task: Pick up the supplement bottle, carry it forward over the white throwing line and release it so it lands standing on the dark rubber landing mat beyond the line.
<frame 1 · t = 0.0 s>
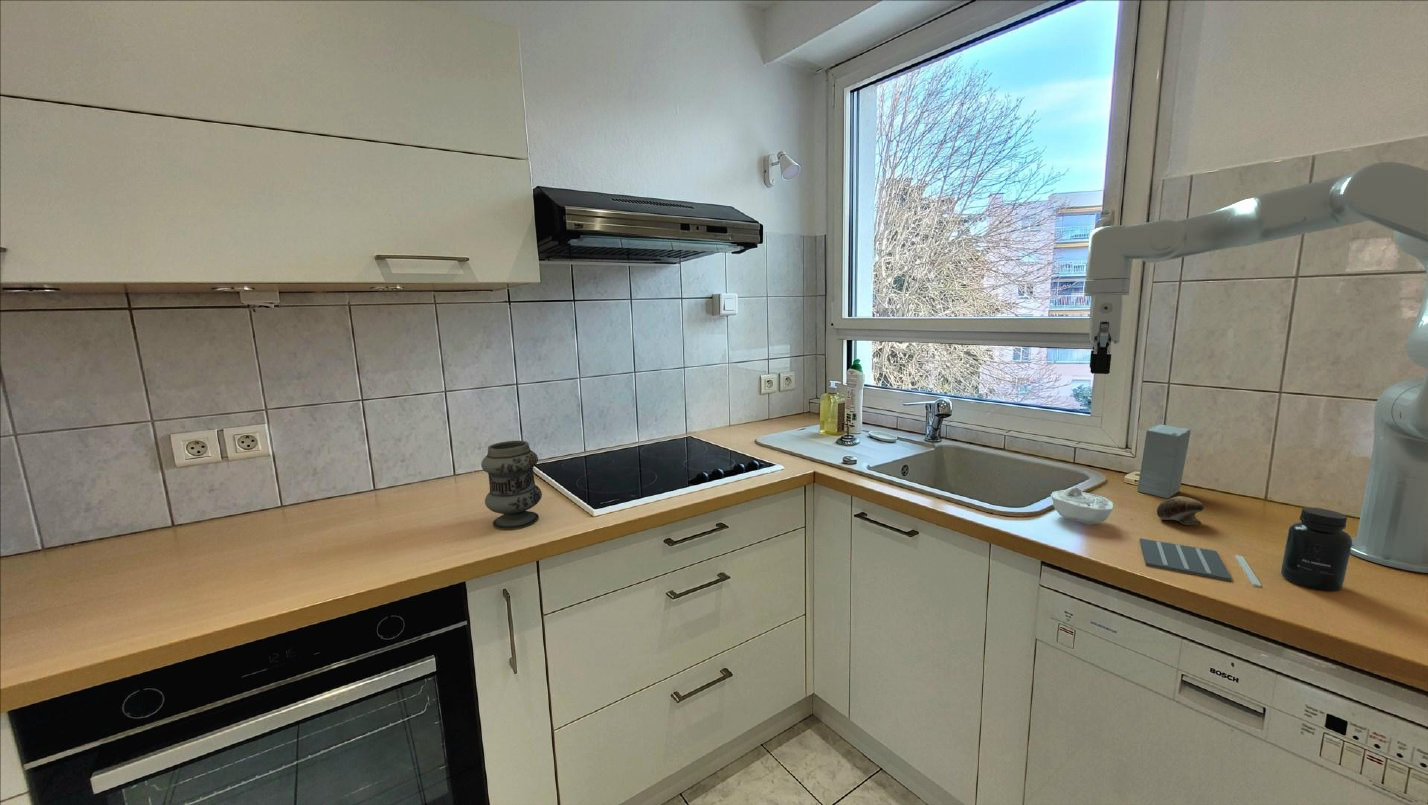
hand: (1099, 371, 114), 31 cm above the table, fingers open, 9 cm apart
supplement bottle: (1310, 583, 87), on the table
cell model: (1080, 522, 114), on the table
skincare box: (1159, 493, 130), on the table
throwing line: (1247, 571, 91), on the table
landing mat: (1181, 559, 96), on the table
mushroom: (1178, 523, 112), on the table
apothecary jar: (516, 522, 122), on the table
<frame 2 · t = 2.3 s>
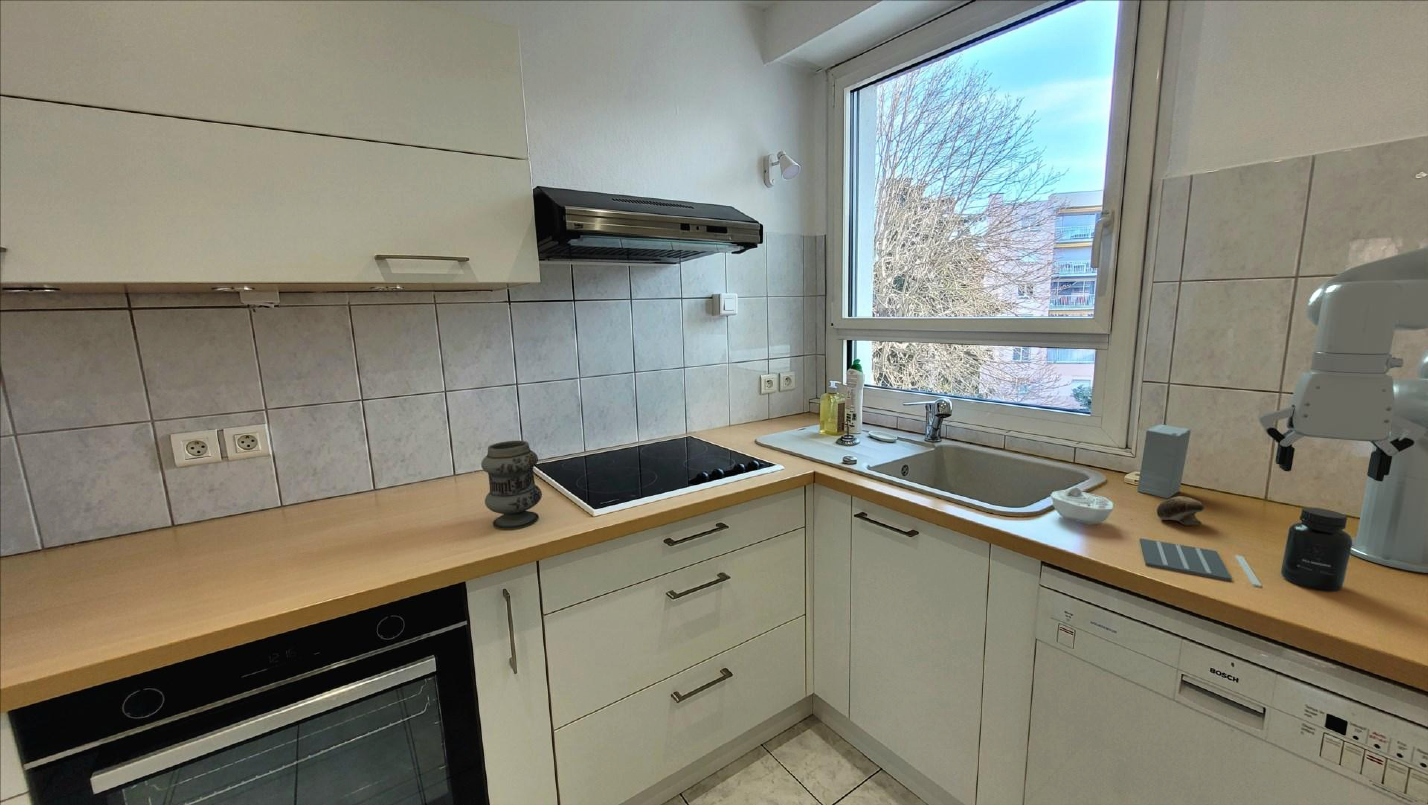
hand: (1328, 474, 84), 18 cm above the table, fingers open, 9 cm apart
nothing on the table moved.
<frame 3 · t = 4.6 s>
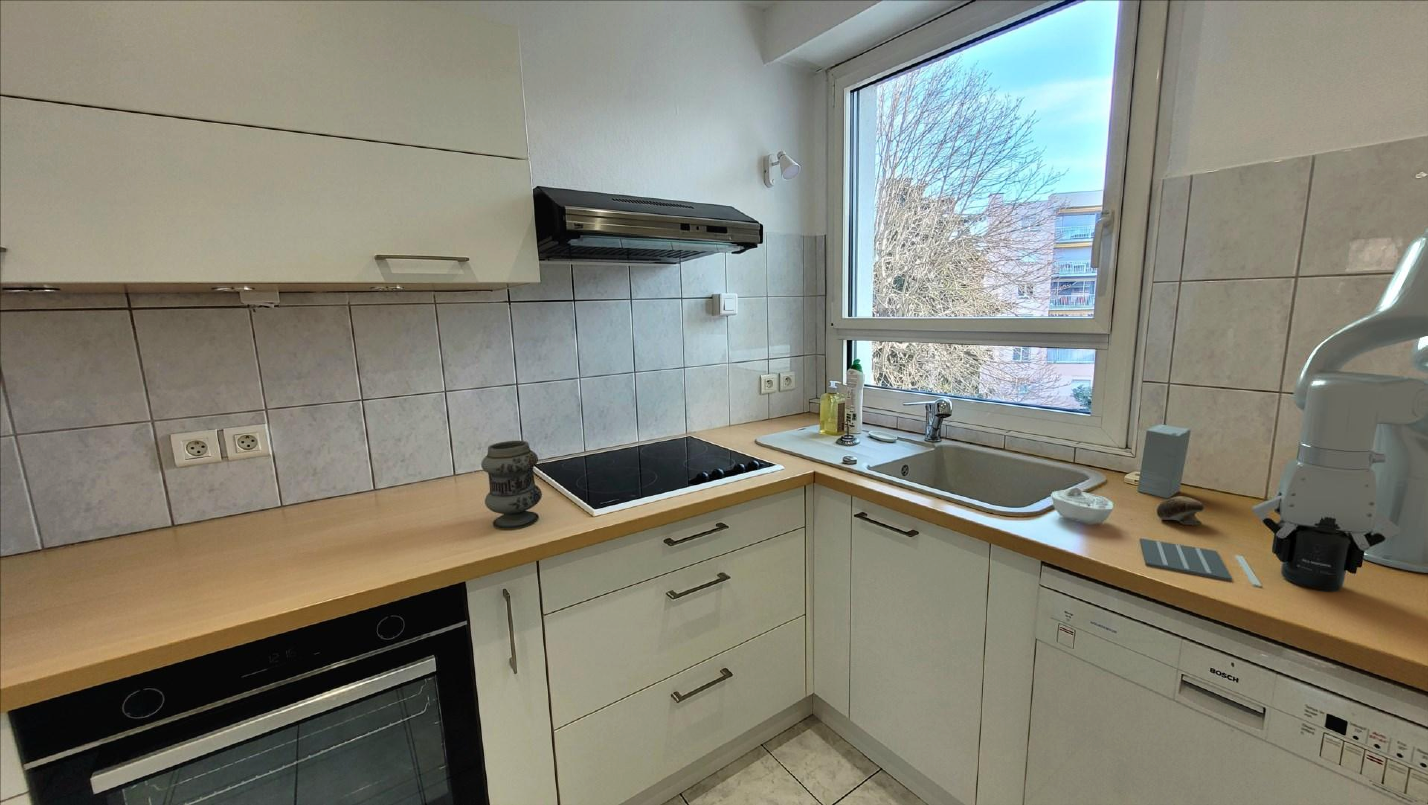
hand: (1314, 563, 87), 3 cm above the table, fingers closed on supplement bottle, 6 cm apart
supplement bottle: (1310, 583, 87), on the table, touching gripper
everything else where it was.
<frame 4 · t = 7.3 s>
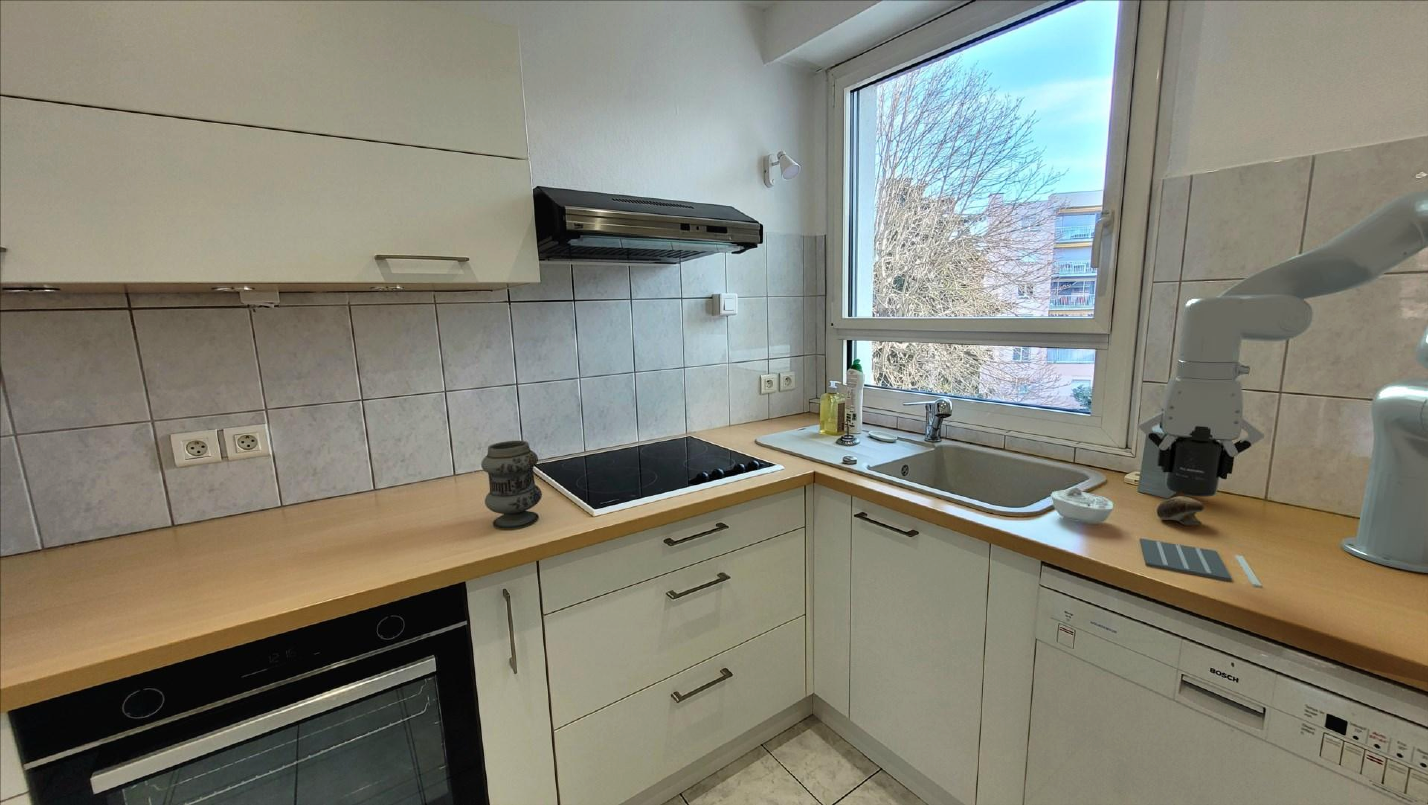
hand: (1192, 473, 93), 16 cm above the table, fingers closed on supplement bottle, 6 cm apart
supplement bottle: (1190, 492, 94), point 13 cm above the table, touching gripper
everything else where it was.
when the fingers open (5 cm above the table, at t = 10.0 s): supplement bottle drops 1 cm, resting on landing mat.
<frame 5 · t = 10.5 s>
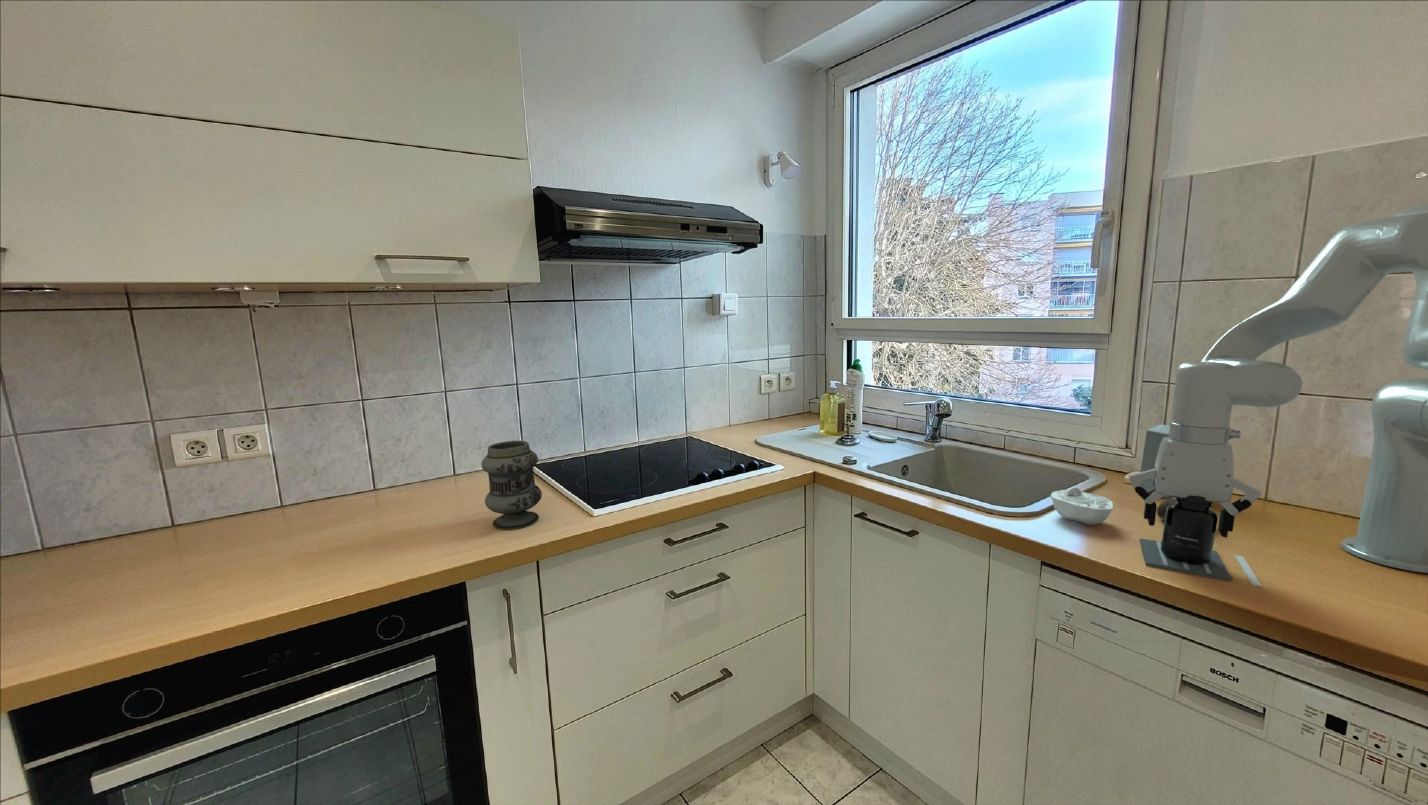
hand: (1185, 528, 95), 6 cm above the table, fingers open, 9 cm apart
supplement bottle: (1185, 557, 96), resting on landing mat
everything else where it was.
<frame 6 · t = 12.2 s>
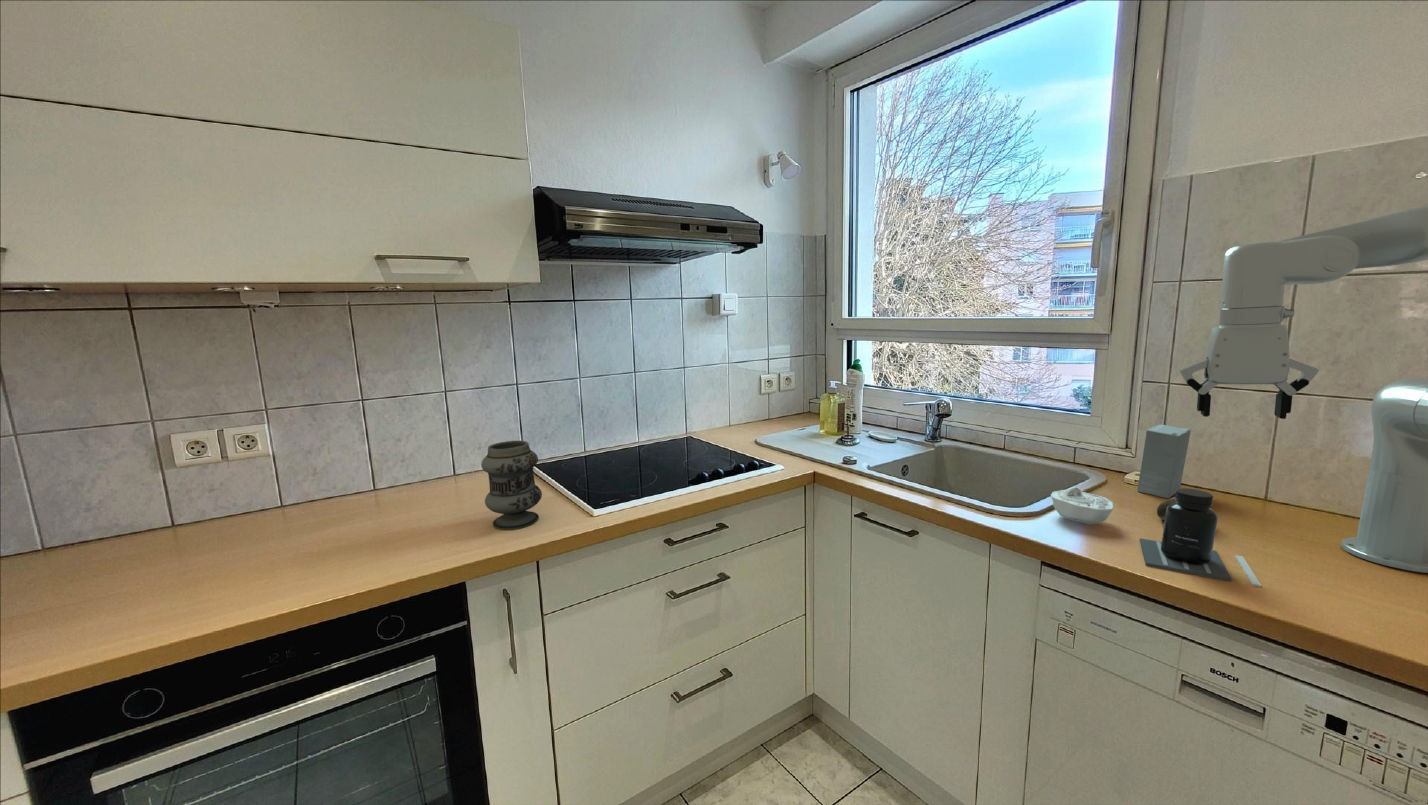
hand: (1241, 416, 95), 25 cm above the table, fingers open, 9 cm apart
nothing on the table moved.
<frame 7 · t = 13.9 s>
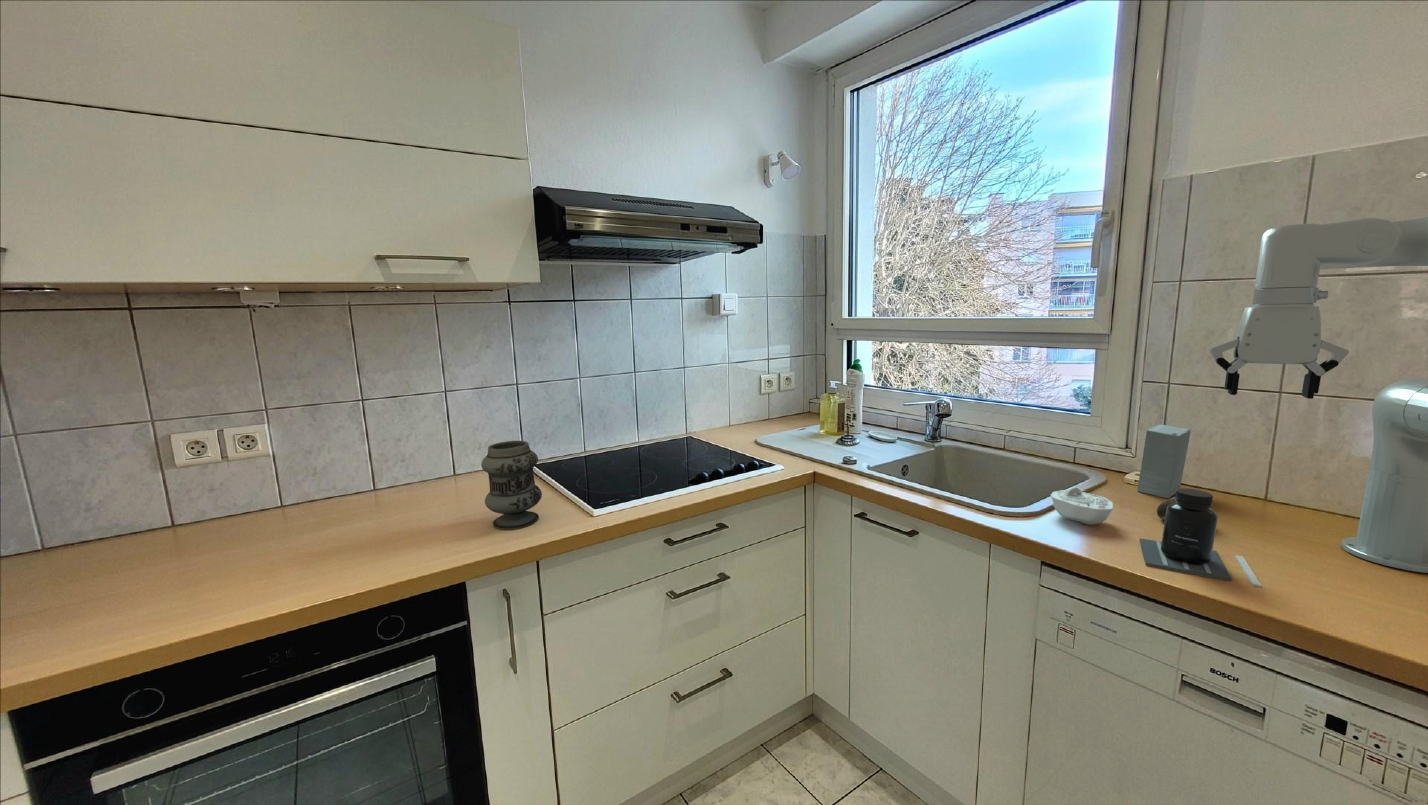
hand: (1268, 395, 97), 28 cm above the table, fingers open, 9 cm apart
nothing on the table moved.
at the end: supplement bottle inside the target area (0.4 cm from its centre), resting on landing mat; supplement bottle tilted 0°; the gripper is holding nothing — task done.
